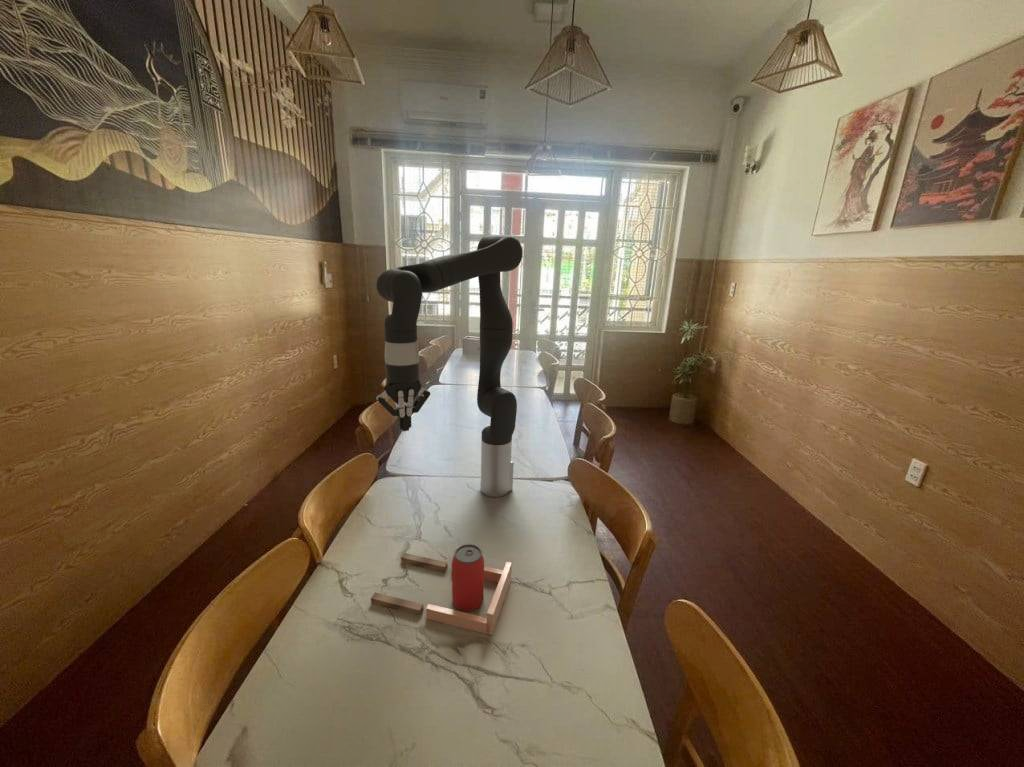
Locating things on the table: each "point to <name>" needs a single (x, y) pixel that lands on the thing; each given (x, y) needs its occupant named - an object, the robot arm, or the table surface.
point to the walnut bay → (405, 604)
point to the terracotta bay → (475, 621)
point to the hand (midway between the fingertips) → (405, 429)
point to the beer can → (467, 577)
